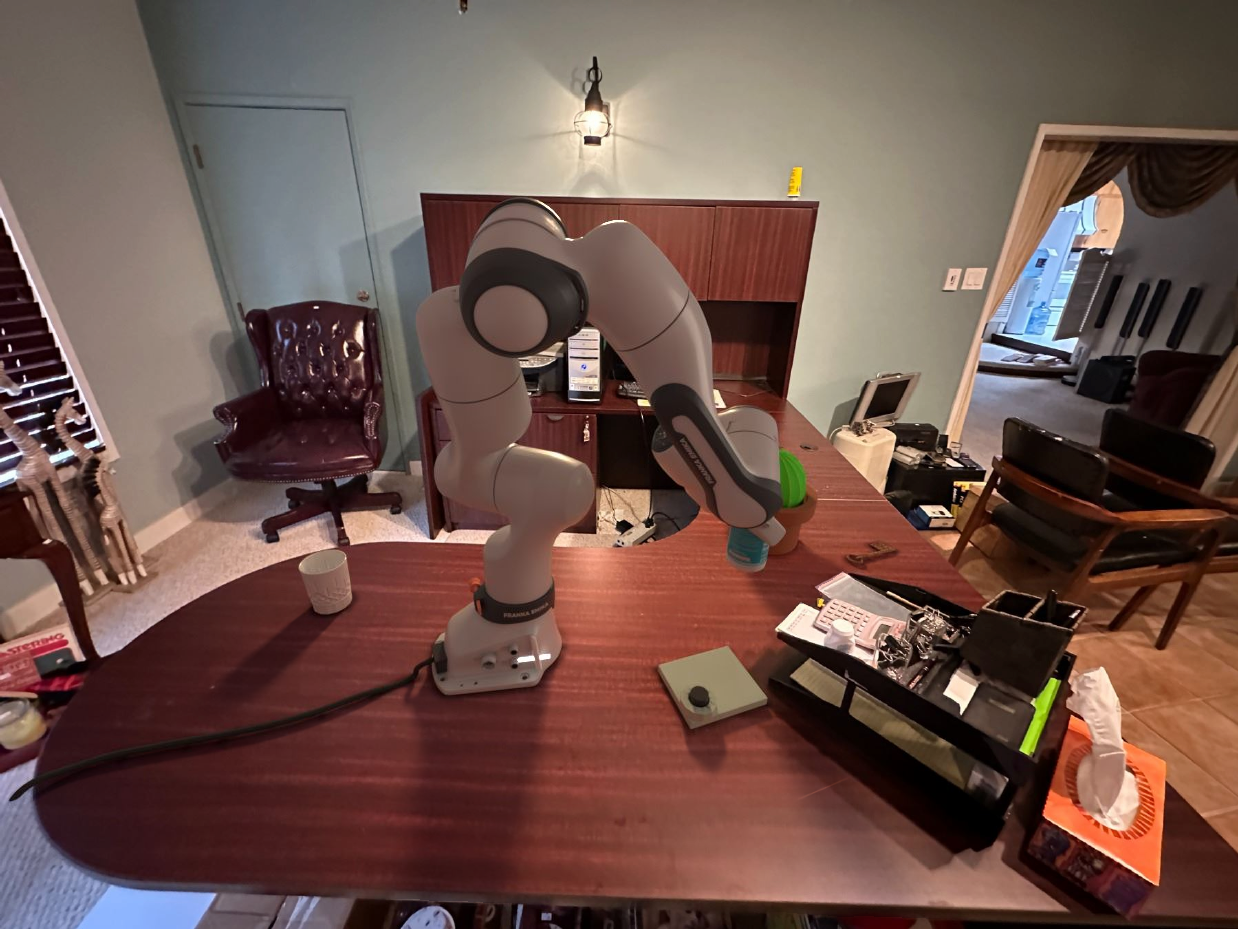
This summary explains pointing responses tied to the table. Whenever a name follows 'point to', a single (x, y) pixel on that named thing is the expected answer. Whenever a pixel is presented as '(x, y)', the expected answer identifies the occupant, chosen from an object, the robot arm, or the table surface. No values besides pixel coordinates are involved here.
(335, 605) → the white cup
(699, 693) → the tare button
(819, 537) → the table surface
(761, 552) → the pill bottle
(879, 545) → the key
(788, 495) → the potted cactus
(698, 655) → the scale
